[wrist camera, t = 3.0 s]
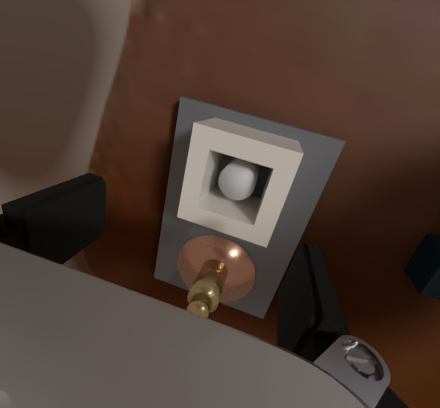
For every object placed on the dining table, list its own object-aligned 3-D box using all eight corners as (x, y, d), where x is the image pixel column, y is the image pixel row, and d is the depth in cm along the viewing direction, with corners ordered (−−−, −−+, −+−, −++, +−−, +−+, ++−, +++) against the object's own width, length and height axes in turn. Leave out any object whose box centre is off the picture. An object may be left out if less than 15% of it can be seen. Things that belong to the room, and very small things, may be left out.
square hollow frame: (215, 117, 20) (193, 122, 15) (298, 140, 19) (303, 153, 14) (199, 193, 23) (176, 216, 18) (270, 216, 22) (266, 247, 17)
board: (186, 96, 22) (158, 95, 17) (341, 139, 20) (360, 150, 15) (159, 269, 31) (136, 301, 26) (264, 309, 29) (260, 351, 24)
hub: (184, 223, 25) (156, 257, 20) (266, 251, 24) (261, 295, 18) (172, 284, 29) (146, 327, 23) (242, 311, 28) (232, 362, 22)
